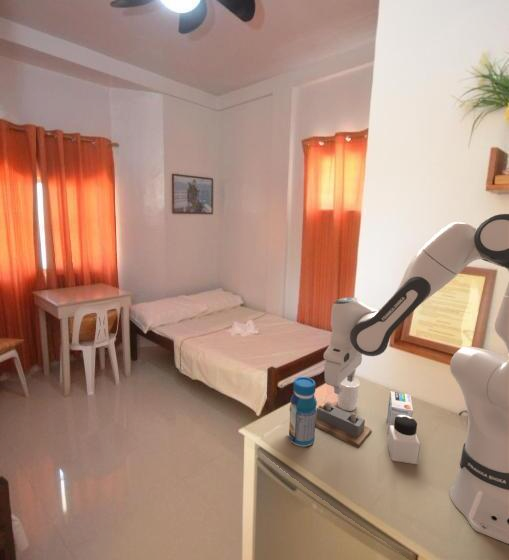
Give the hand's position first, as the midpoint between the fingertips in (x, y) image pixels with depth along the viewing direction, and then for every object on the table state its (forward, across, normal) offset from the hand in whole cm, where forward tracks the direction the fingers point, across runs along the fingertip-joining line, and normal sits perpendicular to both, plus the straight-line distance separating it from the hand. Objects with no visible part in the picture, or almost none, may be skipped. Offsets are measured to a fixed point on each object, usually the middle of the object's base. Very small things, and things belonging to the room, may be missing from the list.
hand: (344, 386), depth 108 cm
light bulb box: (+17, -12, +14) cm, 25 cm away
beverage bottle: (+15, +14, -8) cm, 22 cm away
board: (+15, +1, -1) cm, 16 cm away
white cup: (+16, -14, -5) cm, 22 cm away
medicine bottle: (+17, 0, +19) cm, 25 cm away
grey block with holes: (+14, 0, -1) cm, 14 cm away
